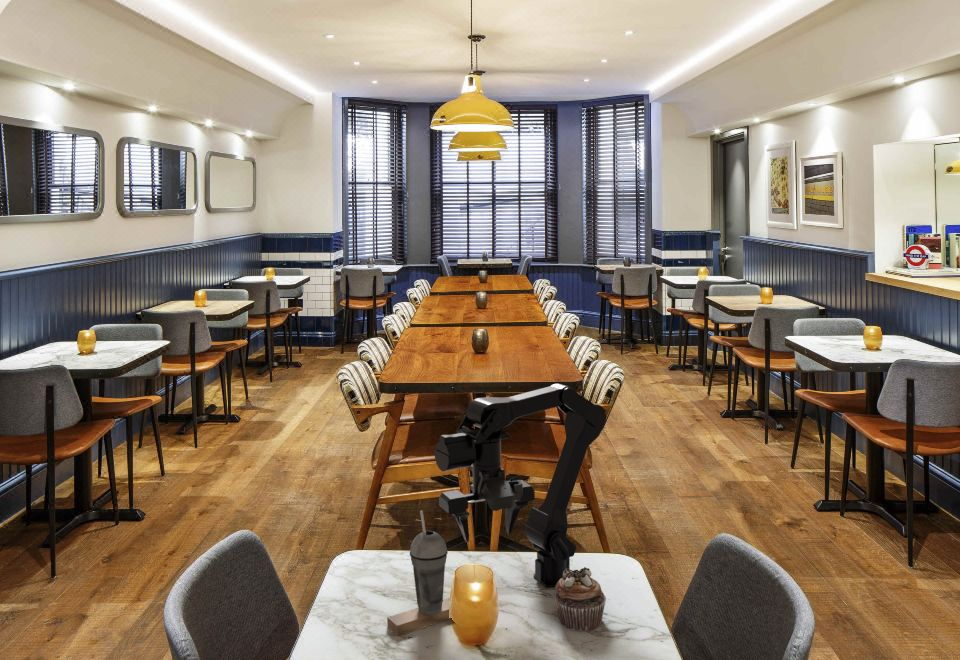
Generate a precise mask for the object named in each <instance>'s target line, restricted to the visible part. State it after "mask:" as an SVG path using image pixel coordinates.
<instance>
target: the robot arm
mask: <svg viewBox="0 0 960 660" xmlns="http://www.w3.org/2000/svg"><path fill="white" fill-rule="evenodd" d="M554 408H558V409H559V410H560V411H561V412H562V413H563V414H564V415H565V418H564V423H563V424H564V433H565V441H564V444H563V446H562V449H561V452H560V455H559V458H558V460H557V463H556V467H555V469H554V472H553V475H552V478H551V481H550V484H549V487H548V490H547V493H546V495H545V499H544V501H543V502H542V504H541V505H540V506H539V507H537V508H535V507H534V506H533V507H531V509H530V510H529V514H528V518H527V520H526V522H525V523H524V526H526V527H525V535H526V538H527V540H528V541H529V542H530V543H531V545H532V547H533V549H536V550H537V551H536V559H535V560H534V571H535V572H534V573H533V578H535V579H536V580H537V581H538V582H539V583H541V584H542V585H543V586H544V587H545V588H552V587H556V584H557V582H558V581H559V580H560V579H561V578H563V572H564V571H565V569H566V568H568V569H570V568H571V567H570V561H571V559H570V558H571V557H574V555H575V552H576V550H577V546H576V544H574V542H572V541H571V540H570V539H569V538H567V533H568V528H569V525H568V516H567V515H568V514H567V510H568V506H569V503H570V500H571V497H572V494H573V492H574V489H575V486H576V483H577V480H578V477H579V474H580V471H581V469H582V466H583V463H584V459H585V457H586V454H587V451H588V449H589V446H590V445H591V444H592V443H594V441H595V440H596V439H598V438H599V437H600V435H601V433H602V430H603V428H604V426H605V424H606V423H607V419H608V416H607V413H606V410H605V408H604V407H603V406H602V405H600V404H597V403H593V402H592V401H591V400H589V399H587V398H586V397H584V396H583V395H581V394H580V393H578V392H577V391H576V390H575V389H574V388H572V387H571V386H569V385H565V384H562V383H554V384H551V385H549V386H546V387H543V388H537V389H534V390H531V391H527V392H522V393H519V394H516V395H512V396H511V395H510V396H506V397H497V396H494V397H493V396H489V397H476V398H475V399H473V400H471V402H470V404H469V405H468V407H467V410H466V413H465V415H464V416H463V418H462V420H461V422H460V424H459V425H458V427H457V428H456V430H455V431H456V433H453V434H442V435H439V441H438V442H437V443H436V445H435V449H434V460H435V462H436V463H435V464H436V466H437V468H438V469H439V470H440V471H441V472H448V471H454V470H457V469H463V468H468V467H469V470H470V471H471V472H472V484H470V485H469V486H470V487H469V488H470V490H471V491H472V493H467V494H464V493H462V492H461V491H460V490H458V489H455V490H449V491H443V492H441V493H440V496H439V497H438V505H439V507H440V508H441V509H442V510H444V511H445V512H446V513H447V514H448V515H452V516H453V517H454V519H455V520H456V523H457V524H458V526H459V527H458V528H459V530H460V532H461V534H462V535H461V536H462V537H463V540H464V541H465V542H466V543H469V541H470V530H469V516H470V512H469V511H467V510H468V508H469V505H471V504H479V503H483V502H486V503H487V504H488V508H489V509H490V510H491V511H494V512H499V511H500V510H504V518H505V519H504V521H505V523H504V524H505V531H506V534H508V535H511V534H512V531H513V528H514V525H515V522H516V520H517V517H518V515H519V513H520V511H521V509H523V508H524V507H526V506H528V505H529V503H530V502H532V501H535V500H536V498H535V497H536V491H535V489H534V486H532V484H531V485H530V484H529V483H527V482H526V481H524V480H522V479H516V480H512V481H511V480H507V479H506V475H505V474H506V473H505V469H504V468H502V441H503V440H506V439H510V438H511V437H512V436H511V434H510V433H508V432H507V431H506V430H505V428H506V427H508V426H510V425H511V424H512V423H513V422H514V421H515V420H516V419H517V420H518V418H522V417H526V416H529V415H532V414H535V413H539V412H544V411H547V410H551V409H554ZM474 427H477V428H479V429H476V428H474ZM570 570H571V569H570Z"/></svg>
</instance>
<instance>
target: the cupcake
mask: <svg viewBox="0 0 960 660" xmlns="http://www.w3.org/2000/svg"><path fill="white" fill-rule="evenodd" d="M592 573H593V572H592V570H590V568H587V567H586V566H584V567H582V568H581V569H579V570H578V569H574V570H572V569H568V568H566V569H565V571H564V572H563V578H561V579H560V580H559V581H558V582H557V584H556V586H555V592H554V599H555V604H556V607H557V608H556V609H557V614H558V617H559V621H560V623H561V625H562V626H563V627H564V628H566V629H568V630H573V631H576V632H577V631H579V632H584V631H585V632H588V631H593V630H595V629H597V628H599V627H600V626H601V624H602V621H603V616H604V610H605V606H606V600H607V596H606V595H605V594H604V592H603V590H602V586H601V584H600V583H599V582H598V580H596V579H594V578H592V577H591V576H592Z"/></svg>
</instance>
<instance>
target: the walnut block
mask: <svg viewBox="0 0 960 660" xmlns="http://www.w3.org/2000/svg"><path fill="white" fill-rule="evenodd" d="M450 598H451V597H448V598H445V599H443V602H442V610H441V611H440V612H439V613H437V614H434V615H424V614H421V613H420V612H419V609H418V607H415V608H413V609H409V610H406V611H403V612H399V613H397V614H394V615H389V616H387V617H386V618H387V619H386V620H387V628H388V629H389V630H390V631H391V632H392V633H394V634H395V635H396V636H402V635H405V634H406V633H407V632H408V633H411V632H414V631H416V629H417V630H419V629H423V628H425V626H426V627H429V626H432V625H435V624H437V623H440V622H444V621H446V620H447V621H448V620H449V601H450ZM431 624H432V625H431ZM428 625H429V626H428ZM422 627H423V628H422ZM408 633H407V634H408Z"/></svg>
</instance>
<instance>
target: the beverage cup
mask: <svg viewBox="0 0 960 660" xmlns="http://www.w3.org/2000/svg"><path fill="white" fill-rule="evenodd" d="M423 511H424V510H419V514H420V519H421V526H422V532H419V533H418V534H416V536H415V537H414V539H412V542H411V545H410V550H409V556H410V560H411V565H412V570H413V577H414V587H415V595H416V604H417V608H418V609H419V612H420V613H421V614H424V615H434V614H437V613H439V612H440V611H441V610H442V602H443V600H444V599H443V598H444V586H445V585H444V583H445V573H446V571H445V570H446V569H445V568H446V562H447V558H448V557H447V555H448V548H447V544H446V541H445V540H444V537H442V536H441V535H440V533H438V532H436V531H432V530H426V525H425V517H424V512H423Z"/></svg>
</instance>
